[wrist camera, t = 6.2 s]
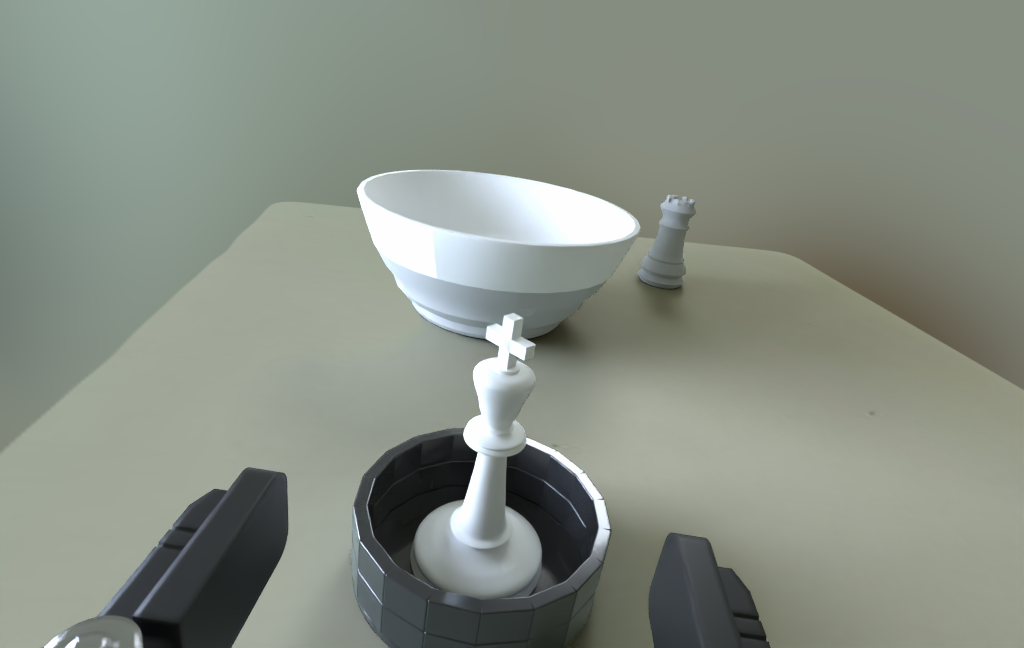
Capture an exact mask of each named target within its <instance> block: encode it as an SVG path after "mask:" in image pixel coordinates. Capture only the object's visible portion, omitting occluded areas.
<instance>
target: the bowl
mask: <svg viewBox="0 0 1024 648" xmlns="http://www.w3.org/2000/svg"><path fill="white" fill-rule="evenodd" d="M357 192H358V196H359V199H360V203H361V206H362V209H363V212H364V215H365V218H366V222H367V224H368V227H369V230H370V233H371V236H372V239H373V242H374V245H375V246H376V247H377V249H378V251H379V253H380V255H381V257H382V259H383V261H384V263H385V264H386V266H387V267H388V268H389V269H390V271H391V272H392V273H393V274H394V275H395V279H396V282H397V285H398V286H399V288H400V289H401V290H402V291H403V292H404V293H405V295H406V296H407V297H408V298H409V299H410V300H411V301H412V303H413V305H414V307H415V309H416V310H417V311H418V312H419V314H420V315H421V316H423V317H424V318H425V319H427V320H428V321H429V322H431V323H433V324H435V325H437V326H439V327H441V328H444V329H446V330H449V331H452V332H455V333H458V334H462V335H466V336H471V337H477V338H482V339H486V332H487V326H490V325H494V324H499V325H501V326H502V325H503V319H504V316H505V315H508V314H512V313H515V314H517V315H519V316H521V317H523V318H524V320H523V326H522V333H521V337H523V338H525V339H529V338H533V337H537V336H541V335H543V334H546V333H548V332H550V331H551V330H553V329H554V328H555V327H557V326H558V325H559V324H560V322H561V321H562V320H564V319H566V318H568V317H569V316H571V315H572V314H573V313H575V312H576V311H577V310H579V309H580V307H581V305H582V304H583V302H584V301H585V300H586V299H588V298H589V297H591V296H592V295H593V294H594V293H596V292H597V291H598V290H599V288H600V287H601V286H602V285H603V284H604V283H605V282H606V281H607V280H608V279H609V278H610V277H611V276H612V275H613V273H614V272H615V270H616V269H617V267H618V266H619V264H620V263H621V261H622V260H623V258H624V257H625V255H626V254H627V252H628V251H629V249H630V247H631V246H632V244H633V243H634V241H635V240H636V238H637V236H638V234H639V232H640V225H639V223H638V221H637V219H636V218H634V217H633V216H632V215H631V214H630V213H629V212H627V211H625V210H624V209H622V208H620V207H618V206H616V205H614V204H612V203H609V202H607V201H605V200H602V199H599V198H597V197H594V196H591V195H588V194H585V193H581V192H578V191H575V190H572V189H568V188H564V187H560V186H555V185H552V184H548V183H543V182H538V181H533V180H528V179H522V178H516V177H510V176H503V175H495V174H487V173H478V172H467V171H450V170H410V171H397V172H390V173H383V174H380V175H377V176H373V177H370V178H368V179H366V180H364V181H363V182H362V183H361V184H360V186H359V187H358V189H357Z"/></svg>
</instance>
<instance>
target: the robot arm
mask: <svg viewBox="0 0 1024 648" xmlns="http://www.w3.org/2000/svg"><path fill="white" fill-rule="evenodd" d="M287 535H288V499H287V477H286V475H285V473H281V472H275V471H269V470H262V469H256V468H250V467H249V468H246V469H245V470H243V472H242V473H241V474H240V475H239V477H238V478H237V479H236V480H235V482H234V483H233V484H232V486H231V487H230V488H229V490H228V491H226V490H219V489H213V490H212V491H210V492H209V493H207V494H206V495H204V496H202V497H201V498H199V499H198V500H196V501H195V502H193V503H192V504H190V505H189V506H188V507H187V509H186V510H185V511H184V512H183V514H182V515H181V516H180V517H179V518H178V520H177V521H176V522H175V523H174V524H173V527H172V529H171V530H170V529H169V530H168V532H167V533H166V534H165V535H164V537H163V538H162V539H161V540H160V541H159V544H158V546H157V547H154V549H153V550H152V551H151V552H150V554H149V555H148V556H147V557H146V558H145V560H144V561H143V562H142V563H141V564H140V566H139V567H138V568H137V569H136V570H135V572H134V573H133V574H132V575H131V577H130V578H129V579H128V580H127V581H126V583H125V584H124V585H123V586H122V587H121V589H120V590H119V591H118V592H117V594H116V595H115V596H114V597H113V598H112V600H111V601H110V602H109V603H108V604H107V606H106V607H105V608H104V609H103V611H102V612H101V613H100V614H99V615H98V616H97V617H95V618H92V619H88V620H85V621H83V622H80V623H78V624H76V625H74V626H72V627H70V628H68V629H67V630H65V631H63V632H62V633H60V634H59V635H58V636H57V637H55V638H54V639H53V640H52V641H51V642H50V643H49V644H47V645H46V647H43V648H231V647H232V645H233V643H234V642H235V640H236V638H237V636H238V634H239V633H240V631H241V629H242V627H243V625H244V624H245V622H246V620H247V618H248V616H249V615H250V613H251V611H252V609H253V607H254V606H255V604H256V602H257V600H258V598H259V596H260V595H261V593H262V591H263V589H264V587H265V586H266V584H267V582H268V580H269V578H270V577H271V575H272V573H273V571H274V569H275V568H276V566H277V564H278V562H279V560H280V558H281V556H282V553H283V551H284V548H285V544H286V540H287ZM649 619H650V624H651V630H652V636H653V642H654V648H770V645H769V642H767V641H766V634H765V631H764V628H763V626H762V623H761V621H759V615H758V612H757V609H756V607H755V604H754V601H753V599H752V596H751V593H750V591H749V590H748V589H747V587H746V586H745V585H744V583H743V582H742V581H741V580H740V578H739V577H738V576H737V575H736V573H735V572H734V571H733V569H730V568H723V567H718V566H717V562H716V559H715V556H714V553H713V550H712V547H711V544H710V542H709V540H708V539H707V538H703V537H696V536H690V535H684V534H677V533H669V534H668V536H667V538H666V540H665V543H664V546H663V549H662V552H661V555H660V558H659V561H658V565H657V568H656V571H655V574H654V577H653V580H652V583H651V586H650V592H649Z"/></svg>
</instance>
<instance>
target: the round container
mask: <svg viewBox="0 0 1024 648" xmlns="http://www.w3.org/2000/svg"><path fill="white" fill-rule="evenodd" d="M464 430H465V428H452V429H446V430H441V431H437V432H432V433H428V434H423V435H419V436H416V437H413V438H411V439H409V440H407V441H406V442H404V443H402V444H400V445H398V446H396V447H394V448H392V449H390V450H388V451H387V452H385V453H384V454H383V455H382V456H381V457H380V458H379V459H378V460H377V462H376V463H375V464H374V465H373V466H372V467H371V468H370V469H369V470H368V471H367V472H366V473H365V474H364V476H363V477H362V480H361V483H360V486H359V489H358V492H357V495H356V498H355V501H354V505H353V520H352V550H351V567H352V573H353V577H352V578H353V586H354V592H355V596H356V599H357V602H358V605H359V607H360V609H361V611H362V613H363V615H364V617H365V619H366V621H367V622H368V624H369V625H370V626H371V628H372V629H373V631H374V632H375V633H376V634H377V635H378V636H379V637H380V638H381V639H382V640H383V641H384V642H385V643H386V644H387V645H388V646H389V647H390V648H567V647H568V646H569V645H570V643H571V642H572V641H573V640H574V639H575V638H576V637H577V635H578V634H579V632H580V631H581V629H582V627H583V626H584V624H585V622H586V621H587V620H588V617H589V614H590V611H591V607H592V603H593V600H594V596H595V593H596V589H597V585H598V582H599V578H600V575H601V571H602V568H603V564H604V560H605V556H606V553H607V549H608V545H609V541H610V537H611V531H612V530H611V526H610V522H609V517H608V513H607V509H606V504H605V501H604V498H603V497H602V496H601V494H600V493H599V491H598V490H597V488H596V487H595V486H594V484H593V483H592V481H591V480H590V479H589V477H588V476H587V474H586V473H585V472H584V471H583V470H581V469H580V468H579V467H577V466H576V465H575V464H574V463H572V462H571V461H570V460H568V459H567V458H566V457H565V456H563V455H562V454H561V453H559V452H558V451H556V450H554V449H552V448H550V447H547V446H545V445H543V444H541V443H538V442H536V441H534V440H532V439H529V438H527V437H526V439H527V442H526V446H525V447H524V449H523V450H522V451H521V452H519V453H517V454H515V455H513V456H509V457H507V465H506V500H505V506H507V507H509V508H511V509H513V510H515V511H516V512H518V513H519V514H520V515H522V516H523V517H524V518H525V519H526V520H527V521H528V522H529V523H530V524H531V525H532V527H533V528H534V530H535V531H536V533H537V535H538V537H539V540H540V543H541V548H542V560H541V561H542V569H541V575H540V578H539V581H538V583H537V585H536V587H535V589H534V590H533V591H532V593H531V594H530V595H529V596H528V597H514V598H499V599H483V600H482V599H477V598H473V597H469V596H465V595H460V594H456V593H452V592H448V591H444V590H439V589H435V588H433V587H431V586H430V585H428V584H426V583H425V582H423V581H421V580H420V579H418V578H416V577H415V576H414V574H413V571H412V567H411V561H410V554H411V548H412V544H413V542H414V538H415V534H416V531H417V529H418V527H419V525H420V524H421V522H422V521H423V520H424V519H425V517H426V516H427V515H429V514H430V513H431V512H432V511H434V510H435V509H437V508H439V507H440V506H442V505H445V504H447V503H450V502H454V501H458V500H464V499H465V497H466V494H467V490H468V487H469V484H470V481H471V477H472V474H473V470H474V467H475V462H476V458H477V454H478V452H476V451H475V450H473V449H472V448H470V447H469V446H468V445H467V443H466V442H465V440H464V435H463V434H464Z"/></svg>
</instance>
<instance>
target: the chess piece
mask: <svg viewBox="0 0 1024 648" xmlns="http://www.w3.org/2000/svg"><path fill="white" fill-rule="evenodd" d="M523 320H524V318H523V317H521V316H519V315H517V314H515V313H512V314H508V315H505V316H504V319H503V325H502V326H501V325H499V324H494V325H490V326H487V332H486V339H487V340H489V341H490V342H492V343H494V344H496V345H497V346H499V353H498V357H496V358H489V359H486V360H484V361H482V362H480V363H479V364H477V365H476V367H475V368H474V371H473V378H474V384H475V388H476V391H477V394H478V398H479V406H480V410H481V414H482V415H479V416H476V417H474V418H473V419H471V420H470V421H469V422H468V424H467V426H466V428H465V430H464V434H463V435H464V440H465V442H466V443H467V445H468V446H469V447H470V448H472V449H473V450H475V451H476V452H478V454H477V458H476V462H475V467H474V470H473V474H472V477H471V481H470V484H469V487H468V490H467V494H466V497H465V499H464V500H458V501H454V502H450V503H447V504H445V505H442V506H440V507H439V508H437V509H435V510H434V511H432V512H431V513H430V514H429V515H427V516H426V517H425V519H424V520H423V521H422V522H421V524H420V525H419V527H418V529H417V531H416V534H415V538H414V542H413V544H412V548H411V554H410V561H411V567H412V571H413V574H414V576H415V577H416V578H418V579H420V580H421V581H423V582H425V583H426V584H428V585H430V586H431V587H433V588H435V589H439V590H444V591H448V592H452V593H456V594H460V595H465V596H469V597H473V598H477V599H482V600H483V599H499V598H514V597H528V596H529V595H530V594H531V593H532V591H533V590H534V589H535V587H536V585H537V583H538V581H539V578H540V575H541V569H542V561H541V560H542V548H541V543H540V540H539V537H538V535H537V533H536V531H535V530H534V528H533V527H532V525H531V524H530V523H529V522H528V521H527V520H526V519H525V518H524V517H523V516H522V515H520V514H519V513H518V512H516V511H515V510H513V509H511V508H509V507H507V506H505V500H506V465H507V457H509V456H513V455H515V454H517V453H519V452H521V451H522V450H523V449H524V447H525V446H526V442H527V439H526V433H525V430H524V428H523V427H522V425H521V424H520V423H518V422H517V421H516V420H515V418H516V417H517V415H518V414H519V412H520V410H521V407H522V405H523V404H524V402H525V400H526V399H527V398H528V396H529V395H530V393H531V391H532V389H533V387H534V385H535V382H536V378H535V374H534V373H533V371H532V370H531V369H530V368H529V367H528V366H527V365H525V364H524V363H522V362H520V361H517V357H518V358H520V359H522V360H524V361H525V360H527V359H530V358H533V357H534V352H535V346H536V344H534V343H532V342H530V341H528V340H526V339H525V338H523V337H521V333H522V326H523Z"/></svg>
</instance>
